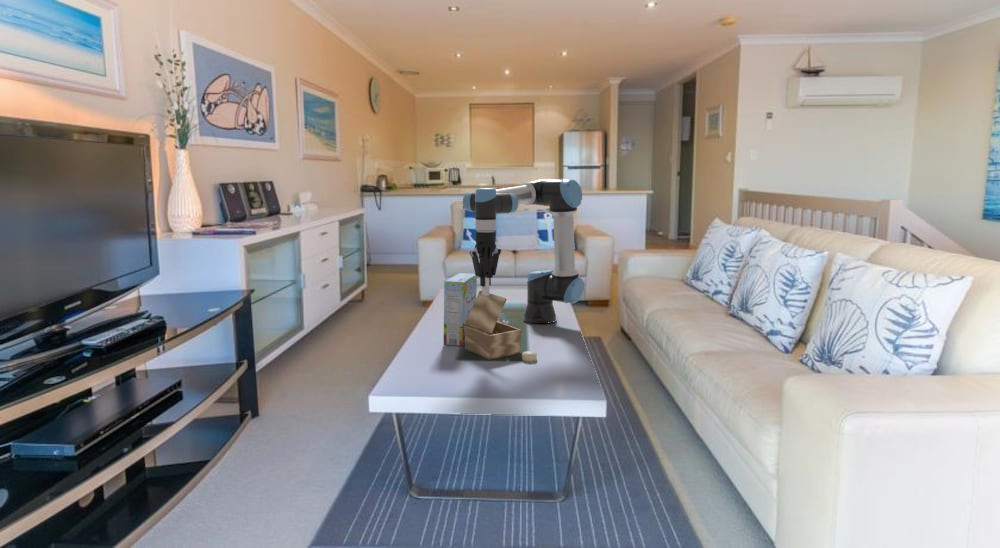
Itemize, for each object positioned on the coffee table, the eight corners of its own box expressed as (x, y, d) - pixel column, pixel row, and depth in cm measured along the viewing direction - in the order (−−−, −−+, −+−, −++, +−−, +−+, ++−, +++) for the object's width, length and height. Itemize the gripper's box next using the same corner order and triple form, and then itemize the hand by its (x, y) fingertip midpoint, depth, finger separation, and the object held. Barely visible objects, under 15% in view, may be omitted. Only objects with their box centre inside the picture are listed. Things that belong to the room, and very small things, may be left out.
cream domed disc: (530, 356, 210) (530, 350, 209) (539, 360, 205) (539, 353, 205) (519, 359, 207) (519, 352, 206) (528, 363, 202) (528, 356, 202)
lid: (490, 335, 204) (489, 334, 203) (465, 325, 217) (464, 325, 217) (507, 298, 206) (505, 298, 205) (481, 291, 219) (479, 290, 219)
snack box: (464, 347, 221) (464, 282, 216) (442, 345, 222) (442, 281, 218) (477, 332, 242) (477, 272, 237) (457, 331, 243) (457, 272, 239)
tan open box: (496, 342, 226) (496, 321, 225) (520, 352, 214) (521, 329, 212) (465, 349, 218) (465, 326, 216) (489, 360, 205) (489, 335, 204)
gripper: (494, 229, 213) (494, 291, 217) (464, 231, 205) (465, 295, 209) (506, 231, 207) (505, 294, 211) (476, 232, 199) (476, 298, 203)
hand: (485, 294), depth 210 cm, fingers closed
